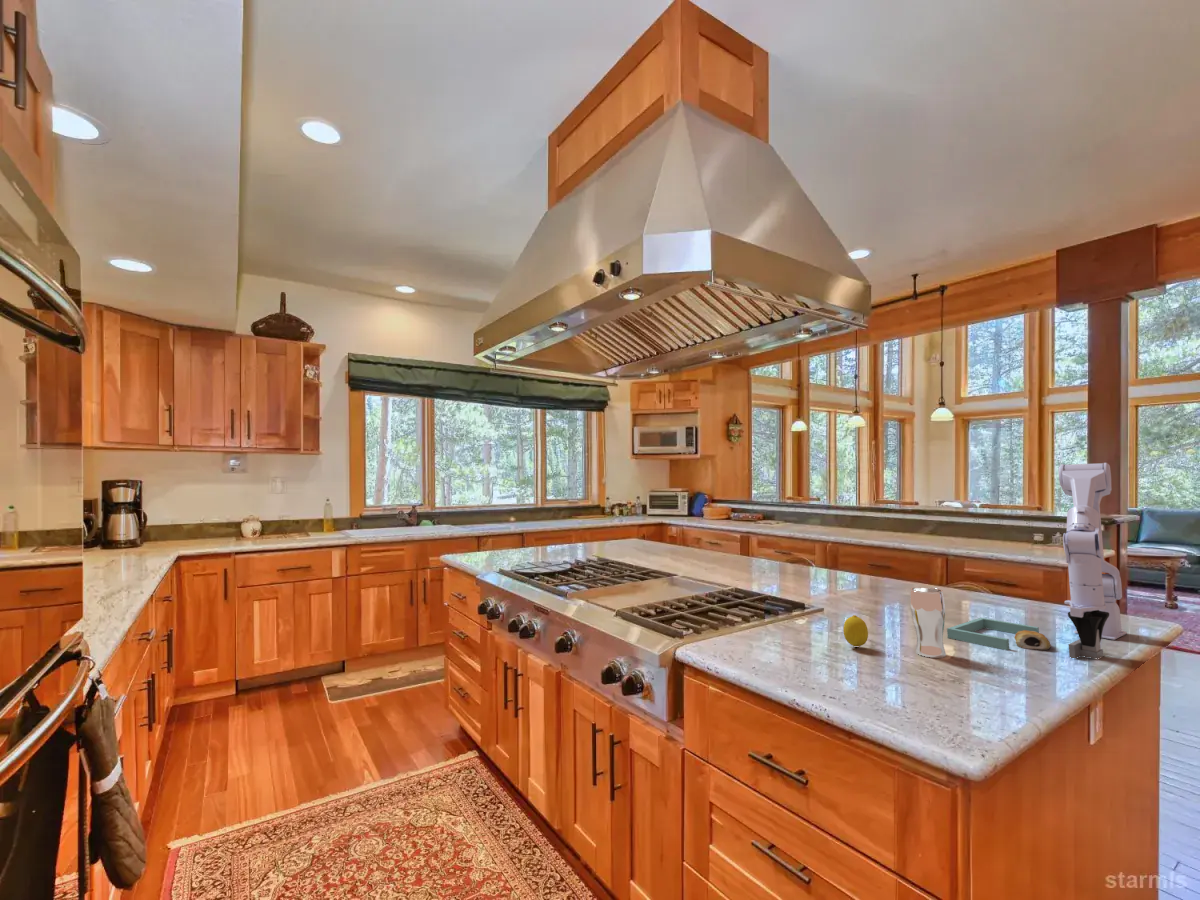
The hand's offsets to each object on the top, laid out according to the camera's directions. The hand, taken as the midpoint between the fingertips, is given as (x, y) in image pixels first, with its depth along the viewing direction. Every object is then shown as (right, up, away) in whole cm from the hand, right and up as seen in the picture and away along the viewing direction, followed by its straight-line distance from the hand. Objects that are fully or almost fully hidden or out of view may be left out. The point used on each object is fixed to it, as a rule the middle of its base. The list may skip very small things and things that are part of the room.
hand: (1091, 644), depth 124 cm
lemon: (-48, -5, +11) cm, 50 cm away
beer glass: (-34, -4, +5) cm, 34 cm away
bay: (-10, -4, +16) cm, 19 cm away
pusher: (0, -3, 0) cm, 3 cm away
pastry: (-6, -4, +9) cm, 12 cm away
